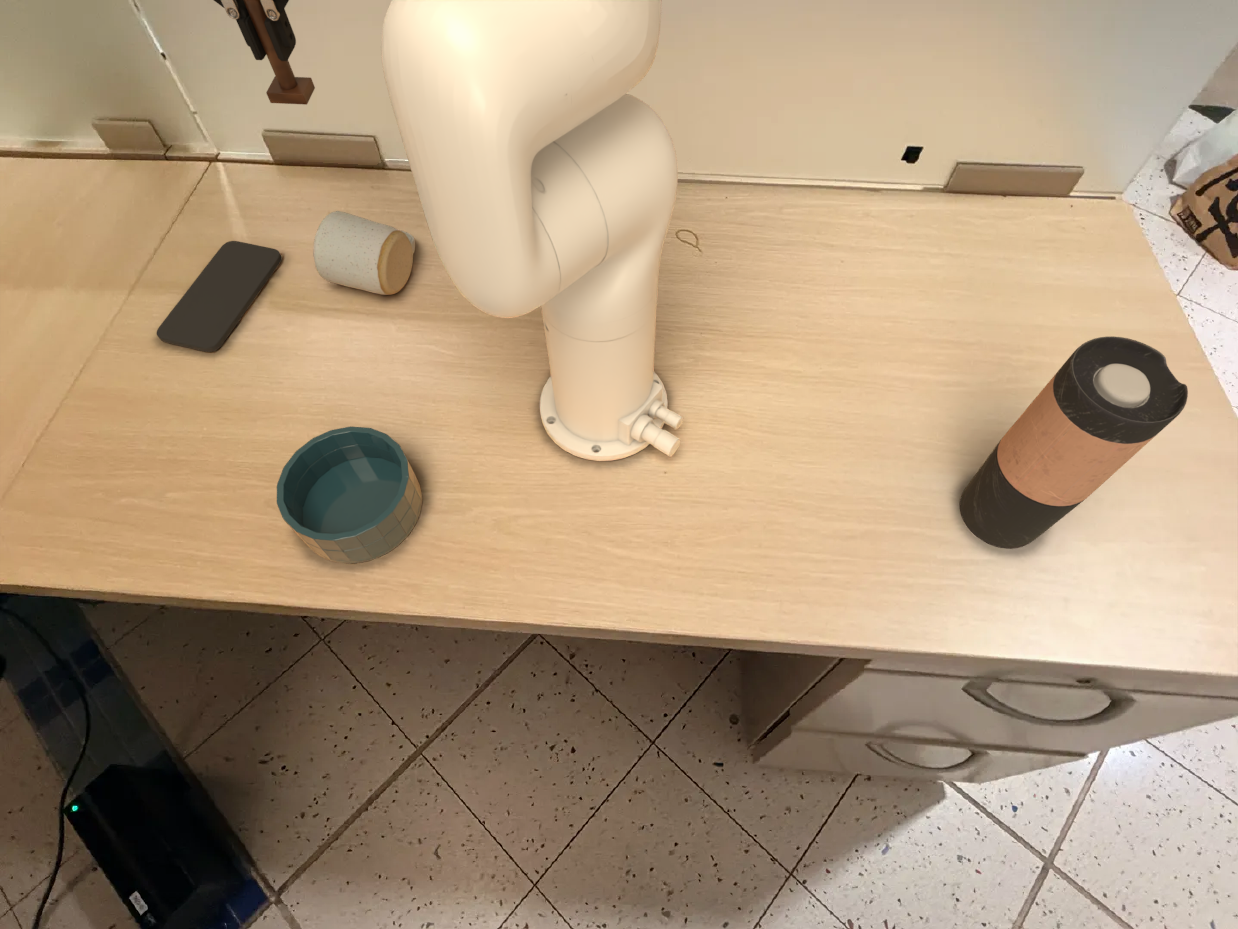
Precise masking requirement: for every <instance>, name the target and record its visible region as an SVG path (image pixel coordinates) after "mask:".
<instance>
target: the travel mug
mask: <svg viewBox="0 0 1238 929" xmlns="http://www.w3.org/2000/svg"><path fill="white" fill-rule="evenodd" d="M1188 398H1189V390H1188V386H1187V384H1186V383H1182V382H1180V381H1179V380H1178V379H1177V378H1176V377H1175V375H1174V374H1173V372H1172V371H1171V370H1170V367H1169V366H1168V362H1167V358H1166V356H1165V355H1164V354H1163V353H1162V352H1160V351H1159V350H1158V349H1156V348H1154V347H1152V346H1150V345H1148V344H1146V343H1144V342H1141V341H1138V340H1135V339H1131V338H1128V337H1122V336H1111V335H1110V336H1100V337H1096V338H1095V337H1094V338H1092V339H1089V340H1087V341H1086V342H1084V343H1082V344H1080V346H1078V347H1077V348H1076V349H1075V350H1074V351H1073V352H1072V354H1070V356H1069V357H1068V358H1067V359H1066V360H1065V362H1064V363H1063V364H1062V366H1061V367H1060V368H1059V369H1058V370H1057V372H1056V373H1055V374H1054V375H1053V376H1052V378H1051V379H1050V380H1049V381H1048V382H1047V384H1046V385H1045V386H1044V387H1043V388H1042V389H1041V391H1040V392H1039V393H1038V394H1037V396H1036V397H1035V398H1034V399H1033V400H1032V402H1031V403H1030V404H1029V405H1028V407H1026V409H1025V410H1024V411H1023V412H1022V413H1021V415H1020V416H1019V417H1018V418H1017V420H1015V422H1014V423H1013V424H1012V425H1011V427H1010V428H1009V429H1008V430H1007V431H1006V432H1005V434H1004V435H1003V436H1002V437H1001V439H1000V440H999V442H998V443H997V445H996V446H995V447H994V448H993V450H992V451H991V452H990V453H989V455H988V457H987V458H986V459H985V461H984V462H983V463H982V464H981V466H980V467H979V469H978V471H977V472H976V473H975V475H974V476H973V477H972V479H971V480H970V481H969V483H968V484H967V485H966V487H965V489H964V490H963V491H962V494H961V497H960V499H959V500H960V501H959V510H960V511H959V512H960V516H961V518H962V520H963V522H964V524H965V525H966V527H967V528H968V529H969V530H970V532H971V533H972V534H973V535H975V536H976V537H977V538H978V539H980V540H981V541H982V542H985V543H987V544H988V545H991V546H994V547H997V548H1000V549H1019V548H1022V547H1025V546H1027V545H1029V544H1031V543H1032V542H1033V541H1035V540H1036V539H1037V538H1039V537H1040V536H1041V535H1043V534H1044V533H1045V532H1047V531H1049V529H1050V528H1051V527H1053V526H1054V525H1055V524H1057V523H1058V522H1059V521H1060V520H1062V519H1063V518H1065V517H1066V515H1068V514H1069V513H1070V512H1072V511H1073V510H1074V509H1076V508H1077V507H1078V506H1080V504H1082V503H1083V502H1084V501H1085V500H1087V499H1088V498H1089V497H1090V496H1091V495H1092V494H1093V493H1094V492H1096V490H1098V489H1099V488H1100V487H1101V486H1102V485H1103V484H1104V483H1105V482H1106V481H1108V480H1109V479H1110V478H1111V477H1112V476H1113V475H1114V474H1115V473H1117V471H1119V470H1120V469H1121V468H1122V467H1123V466H1124V465H1125V464H1126V463H1127V462H1128V461H1130V460H1131V459H1132V458H1134V456H1135V455H1136V454H1138V453H1139V452H1140V451H1141V450H1142V449H1143V448H1144V447H1146V445H1147V444H1149V442H1150V441H1152V440H1153V439H1154V438H1155V437H1156V436H1158V434H1159V433H1160V432H1161V431H1163V430H1164V429H1165V428H1166V427H1168V425H1169V424H1171V423H1172V422H1173V421H1174V420H1175V419H1176V418H1177V417H1179V415H1180V414H1181V413H1182V411H1183V410H1184V408H1185V407H1186V404H1187V402H1188Z"/></svg>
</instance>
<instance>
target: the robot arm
mask: <svg viewBox="0 0 1238 929" xmlns="http://www.w3.org/2000/svg"><path fill="white" fill-rule="evenodd" d="M213 1H214V2H215V3H217V5H219V6H220V7H222V8H224V11H225V14H226V15H227V16H228V17H229V18H231V19H232V20H235V21H236V23H237V26H238V28H239V30H240V32H241V34H242V37H243V39H244V42H245V44H246V45H247V47H249V48H250V50H251V53H252V55H253V57H254V60H256V61H263V60H264V59H265V58H266V57H267V55H266V53H265V50H264V48H263V45H262V43H261V41H260V38H259V36H258V34H257V31H256V29H255V27H254V24H253V22H252V20H251V17H250V15H249V13H248V10H247V8H246V6H245V3H244V1H243V0H213ZM260 1H261V3H262V6H263V8H264V11H265V13H266V15H267V18H266V19H265V21H264V24H265V27H266V30H267V32H268V34H269V37H270V39H271V42H272V44H273V47H274V49H275V51H276V54H277V56H278V59H280V60H281V61H289V59H290V57H291V55H292V53H293V51H294V50H295V48H296V46H297V39H296V35H295V33H294V30H293V27H292V25H291V22H290V20H289V17H288V14H287V12H286V6H287V5H288V3H289V1H290V0H260ZM662 2H663V0H391V1H390V3H389V5H388V8H387V10H386V13H385V15H384V19H383V24H382V29H381V40H380V41H381V42H380V53H381V54H380V55H381V65H382V71H383V76H384V80H385V85H386V89H387V93H388V96H389V101H390V105H391V109H392V111H393V115H394V118H395V121H396V125H397V128H398V131H399V134H400V137H401V141H402V144H403V148H404V151H405V155H406V157H407V161H408V164H409V168H410V171H411V175H412V178H413V181H414V185H415V187H416V188H415V189H416V191H417V194H418V197H419V201H420V204H421V208H422V211H423V215H424V217H425V220H426V224H427V227H428V230H429V233H430V237H431V240H432V242H433V245H434V247H435V250H436V253H437V255H438V257H439V259H440V262H441V264H442V266H443V267H444V269H445V272H446V274H447V275H448V277H449V278H450V281H451V282H452V284H453V285H454V286H455V288H456V289H457V290H458V291H459V293H460V294H461V295H462V297H464V299H465V300H467V302H468V303H470V304H471V305H472V306H473V307H475V309H477V310H479V311H480V312H482V313H483V314H486V315H489V316H491V317H496V318H501V319H511V318H518V317H521V316H524V315H527V314H529V313H532V312H534V311H536V310H537V309H539V308H540V310H541V317H542V325H543V330H544V331H543V332H544V337H545V338H544V339H545V344H546V352H547V359H548V364H549V371H550V376H549V377H548V378H547V380H546V382H545V384H544V386H543V387H542V390H541V393H540V397H539V413H540V418H541V422H542V426H543V428H544V429H545V432H546V434H547V435H548V437H549V438H550V439H551V440H552V441H553V442H554V444H555V445H557V446H558V447H560V449H561V450H563V451H565V452H567V453H569V454H570V455H573V456H575V457H578V458H581V459H584V460H589V461H596V462H610V461H617V460H622V459H625V458H627V457H631V456H633V455H636V454H637V453H639V452H641V451H642V450H644V449H646V448H647V447H648V446H649V445H651V446H653V448H655V449H656V450H658V451H660V452H661V453H662V454H665V455H666V456H668V457H670V458H671V457H673V456H674V455H675V453H677V451H678V449H679V447H680V445H681V443H682V442H681V441H682V440H681V438H680V437H678V436H676V435H675V434H673V433H671V432H670V431H668V430H666V429H663V427H664V425H667V426H669V427H671V428H672V429H674V430H675V431H676V430H678V429H680V427H682V424H683V422H684V419H685V418H684V416H683V415H681V414H680V413H677V411H674V410H671V409H669V408H668V404H669V401H668V394H667V391H666V388H665V385H664V383H663V381H662V380H661V378H660V376H659V375H658V374H657V372H655V371H654V368H655V348H656V346H655V345H656V343H655V342H656V328H657V326H656V325H657V305H658V297H659V296H658V294H659V280H660V268H661V267H660V266H661V261H662V260H661V258H662V255H663V249H664V245H665V240H666V237H667V234H668V230H669V227H670V224H671V220H672V217H673V213H674V208H675V205H676V199H677V193H678V185H679V184H678V183H679V182H678V180H679V169H678V158H677V153H676V152H677V151H676V148H675V144H674V141H673V138H672V136H671V134H670V131H669V129H668V127H667V126H666V124H665V122H664V121H663V119H662V118H661V116H660V115H659V113H657V112H656V110H655V109H653V107H652V106H650V104H648V103H646V102H645V101H643V100H642V99H640V98H638V97H637V96H634V95H632V94H629V92H631V90H633V89H634V88H635V87H636V86H637V85H639V84H640V82H641V81H642V80H643V79H644V78H645V77H646V76H647V75H648V73H649V71H650V70H651V68H652V66H653V64H654V62H655V59H656V55H657V52H658V46H659V40H660V34H661V22H662V6H663V5H662V4H663V3H662Z"/></svg>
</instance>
